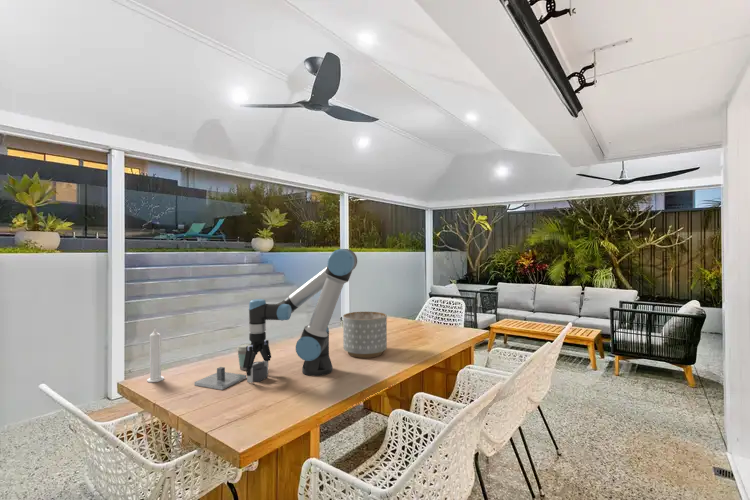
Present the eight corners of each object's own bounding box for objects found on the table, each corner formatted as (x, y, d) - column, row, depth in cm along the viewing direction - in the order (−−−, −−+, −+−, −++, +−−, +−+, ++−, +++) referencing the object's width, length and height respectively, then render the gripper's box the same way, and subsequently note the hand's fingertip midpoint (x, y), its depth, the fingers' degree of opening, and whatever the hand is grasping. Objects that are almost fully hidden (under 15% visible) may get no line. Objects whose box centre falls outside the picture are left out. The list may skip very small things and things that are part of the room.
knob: (256, 376, 191) (256, 359, 191) (267, 377, 188) (267, 361, 188) (248, 380, 185) (248, 363, 185) (259, 382, 183) (259, 365, 183)
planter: (394, 350, 235) (394, 313, 234) (371, 361, 213) (371, 321, 213) (359, 345, 248) (359, 310, 248) (334, 354, 227) (334, 316, 226)
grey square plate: (246, 378, 188) (246, 364, 188) (222, 389, 173) (222, 375, 173) (219, 374, 194) (219, 361, 193) (194, 385, 179) (194, 371, 179)
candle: (167, 378, 188) (166, 326, 188) (154, 383, 181) (154, 329, 181) (156, 376, 190) (155, 325, 190) (143, 381, 184) (142, 328, 183)
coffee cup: (249, 371, 198) (249, 348, 197) (233, 370, 199) (233, 347, 199) (257, 366, 206) (257, 343, 206) (242, 365, 208) (242, 342, 207)
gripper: (266, 326, 198) (266, 369, 199) (234, 336, 177) (234, 385, 177) (278, 327, 196) (278, 371, 196) (247, 338, 174) (248, 387, 174)
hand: (257, 378), depth 187 cm, fingers open, 11 cm apart
